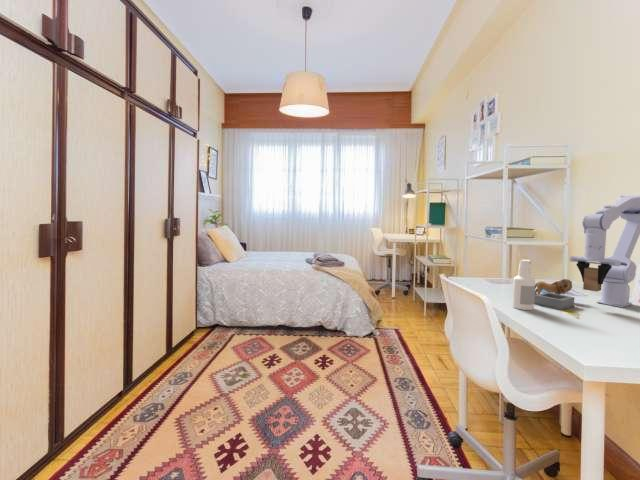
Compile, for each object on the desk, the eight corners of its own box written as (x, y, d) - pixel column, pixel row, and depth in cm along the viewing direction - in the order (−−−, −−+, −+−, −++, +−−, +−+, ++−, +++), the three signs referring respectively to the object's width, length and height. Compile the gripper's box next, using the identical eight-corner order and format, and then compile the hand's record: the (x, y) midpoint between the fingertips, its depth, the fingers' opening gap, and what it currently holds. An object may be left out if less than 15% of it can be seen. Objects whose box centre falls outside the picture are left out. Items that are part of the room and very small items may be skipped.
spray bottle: (530, 311, 115) (532, 262, 113) (509, 307, 120) (511, 260, 119) (536, 308, 119) (538, 260, 118) (515, 304, 124) (517, 258, 123)
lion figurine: (572, 300, 130) (573, 278, 129) (570, 303, 126) (571, 280, 125) (529, 294, 140) (530, 274, 139) (526, 296, 136) (527, 275, 135)
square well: (546, 300, 130) (546, 292, 129) (573, 306, 121) (574, 297, 121) (533, 303, 125) (534, 295, 125) (561, 310, 117) (562, 300, 116)
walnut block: (587, 288, 122) (589, 267, 121) (601, 290, 118) (602, 268, 118) (583, 289, 120) (584, 268, 119) (596, 291, 116) (597, 269, 116)
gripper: (566, 245, 122) (564, 280, 123) (616, 248, 109) (613, 288, 110) (575, 244, 125) (573, 278, 127) (624, 247, 113) (621, 285, 114)
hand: (592, 283), depth 119 cm, fingers closed on walnut block, 4 cm apart
